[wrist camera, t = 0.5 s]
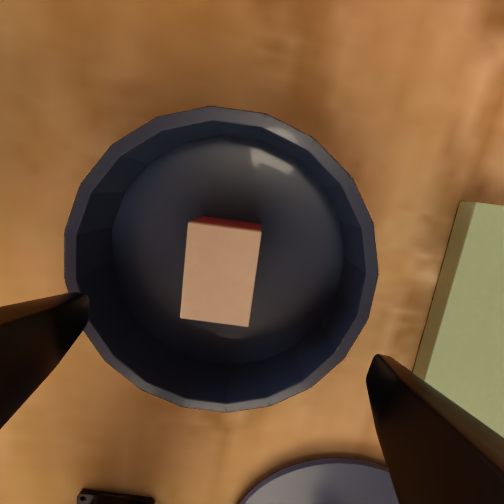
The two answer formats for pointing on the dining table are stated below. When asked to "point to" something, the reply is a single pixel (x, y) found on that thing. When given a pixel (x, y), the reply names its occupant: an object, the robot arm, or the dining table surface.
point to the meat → (220, 270)
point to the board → (469, 317)
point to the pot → (268, 267)
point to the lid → (326, 484)
